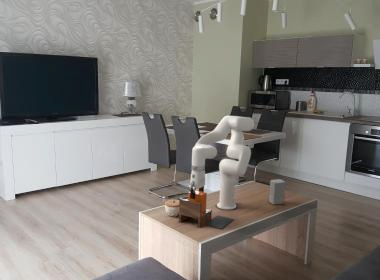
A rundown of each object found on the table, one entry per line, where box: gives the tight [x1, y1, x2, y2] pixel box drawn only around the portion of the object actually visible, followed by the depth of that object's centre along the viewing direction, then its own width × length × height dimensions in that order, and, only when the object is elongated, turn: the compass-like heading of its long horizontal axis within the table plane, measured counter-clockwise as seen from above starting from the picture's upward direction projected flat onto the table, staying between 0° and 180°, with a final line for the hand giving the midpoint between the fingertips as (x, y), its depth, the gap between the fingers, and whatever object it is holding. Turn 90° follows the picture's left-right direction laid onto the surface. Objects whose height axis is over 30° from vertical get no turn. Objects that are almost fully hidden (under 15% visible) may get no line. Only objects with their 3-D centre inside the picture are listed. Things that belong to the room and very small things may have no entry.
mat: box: [205, 215, 234, 230], centre depth 211 cm, size 16×10×1 cm, turn 148°
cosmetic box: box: [268, 178, 286, 206], centre depth 245 cm, size 8×7×16 cm
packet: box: [187, 189, 208, 213], centre depth 212 cm, size 6×9×11 cm, turn 58°
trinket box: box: [164, 199, 179, 217], centre depth 220 cm, size 11×11×9 cm
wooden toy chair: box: [178, 197, 213, 228], centre depth 211 cm, size 14×14×14 cm
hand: (196, 196), depth 211 cm, fingers open, 9 cm apart
